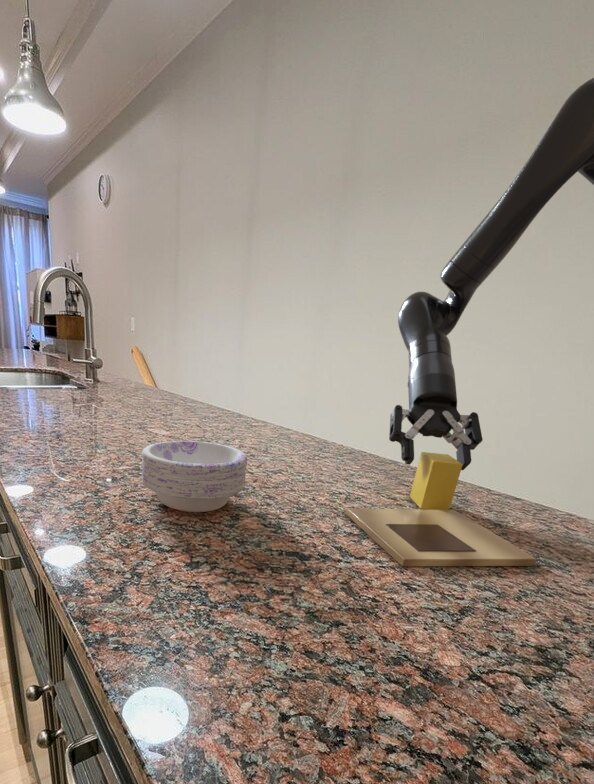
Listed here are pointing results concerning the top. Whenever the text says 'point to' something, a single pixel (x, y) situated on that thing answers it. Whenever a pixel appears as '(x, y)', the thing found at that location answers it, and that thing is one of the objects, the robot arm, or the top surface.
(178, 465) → the paper bowls
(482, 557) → the board
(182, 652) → the top surface
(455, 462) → the yellow block
